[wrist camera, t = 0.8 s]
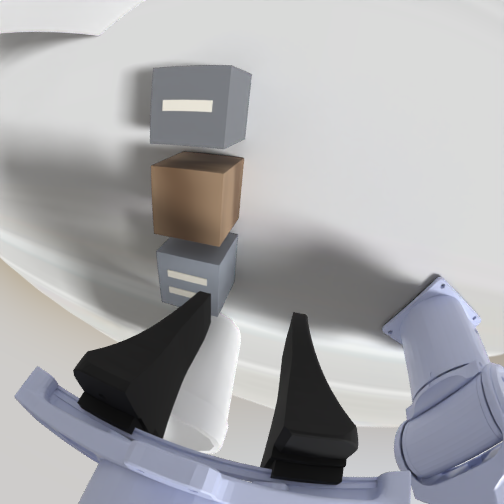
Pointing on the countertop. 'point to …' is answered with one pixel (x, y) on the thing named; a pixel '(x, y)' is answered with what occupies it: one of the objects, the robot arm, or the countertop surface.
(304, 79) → the countertop surface
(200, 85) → the charcoal block
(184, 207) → the walnut block
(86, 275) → the countertop surface
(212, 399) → the foam cup
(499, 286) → the countertop surface
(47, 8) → the milk
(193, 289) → the slate block
